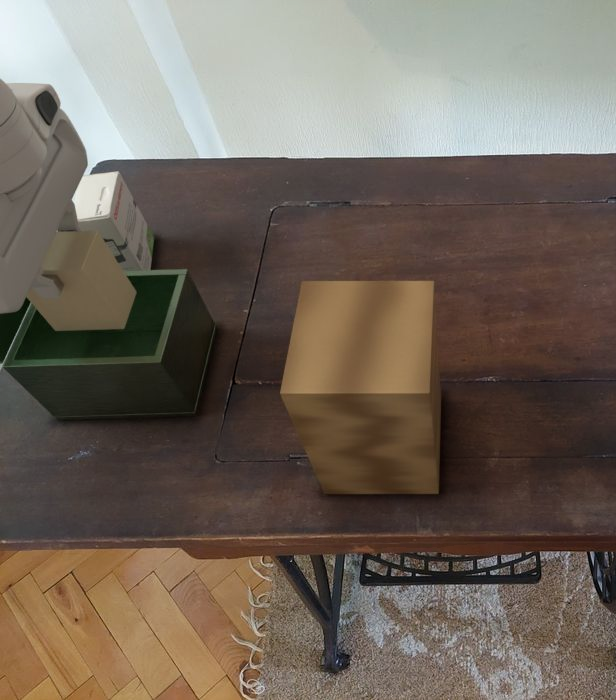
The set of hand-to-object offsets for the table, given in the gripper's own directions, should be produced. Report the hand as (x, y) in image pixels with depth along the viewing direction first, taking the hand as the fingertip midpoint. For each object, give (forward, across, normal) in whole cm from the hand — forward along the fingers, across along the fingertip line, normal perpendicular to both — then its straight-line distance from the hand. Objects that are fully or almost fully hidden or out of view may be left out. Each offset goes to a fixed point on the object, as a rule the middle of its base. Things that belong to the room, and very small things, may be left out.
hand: (65, 267), depth 62 cm
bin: (+18, 0, 0) cm, 18 cm away
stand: (+18, -10, -29) cm, 36 cm away
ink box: (+18, +18, +6) cm, 26 cm away
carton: (+7, 0, 0) cm, 7 cm away
